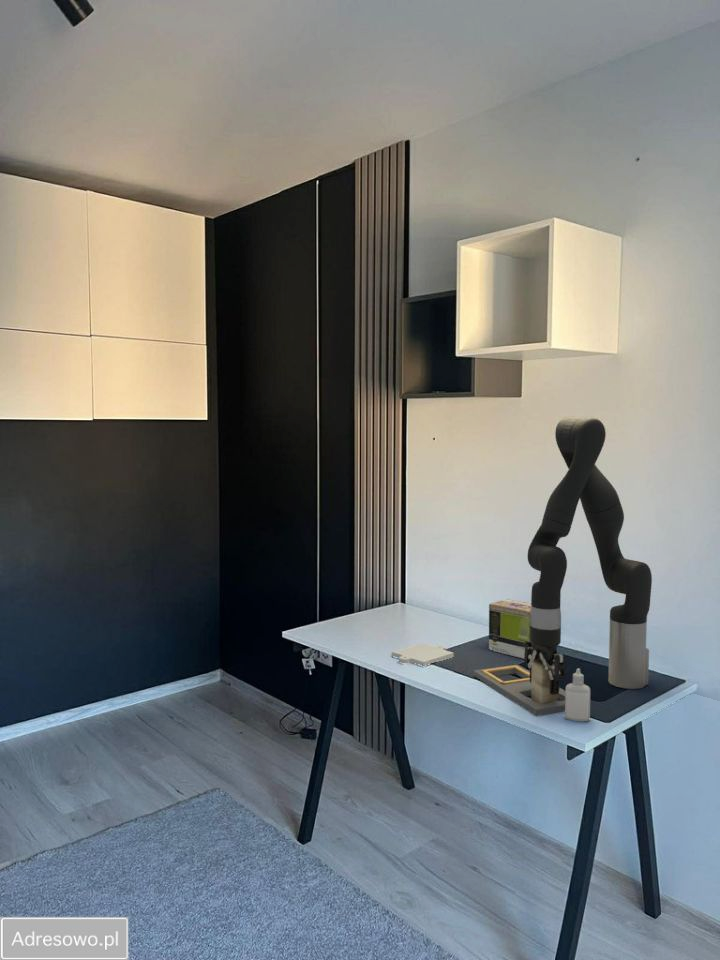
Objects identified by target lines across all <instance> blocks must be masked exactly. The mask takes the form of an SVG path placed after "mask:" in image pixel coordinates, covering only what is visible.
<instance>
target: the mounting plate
mask: <svg viewBox="0 0 720 960" xmlns="http://www.w3.org/2000/svg"><path fill="white" fill-rule="evenodd" d="M454 655H455V654H454V651H453V652H452V651H449V650H446V646H443V645H435V646H434V645H430V644H426V643H422V642H421V643H418V644H415V645H411V646H408V647H404V648H401V649H398V650H393V651H391V657H392V656H395V657H398V658H399V659H398V663H399V662H401V663H416V664H420V665H422V666H425V665H428V664H431V663H434V662H439V661H442V662H444V661H443V660H445V661H447V660H446V659H448V660H450V659H449V658H451V659H453V658H452V657H454ZM439 663H440V662H439Z"/></svg>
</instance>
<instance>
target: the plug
mask: <svg viewBox="0 0 720 960" xmlns="http://www.w3.org/2000/svg"><path fill="white" fill-rule="evenodd" d="M551 666H554V663H553V665H551ZM553 674H555V672H554V670H553ZM530 697H531V698H530V699H531V700H533V701H534V702H536V703H538V704H545V703H552V702H558V698H557V694H555V695H552V694H550V676H549V673H548V671H546V670H545V667H544V664H542V663H540V662H538V661H537V660H535V661H532V678H531V696H530Z"/></svg>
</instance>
